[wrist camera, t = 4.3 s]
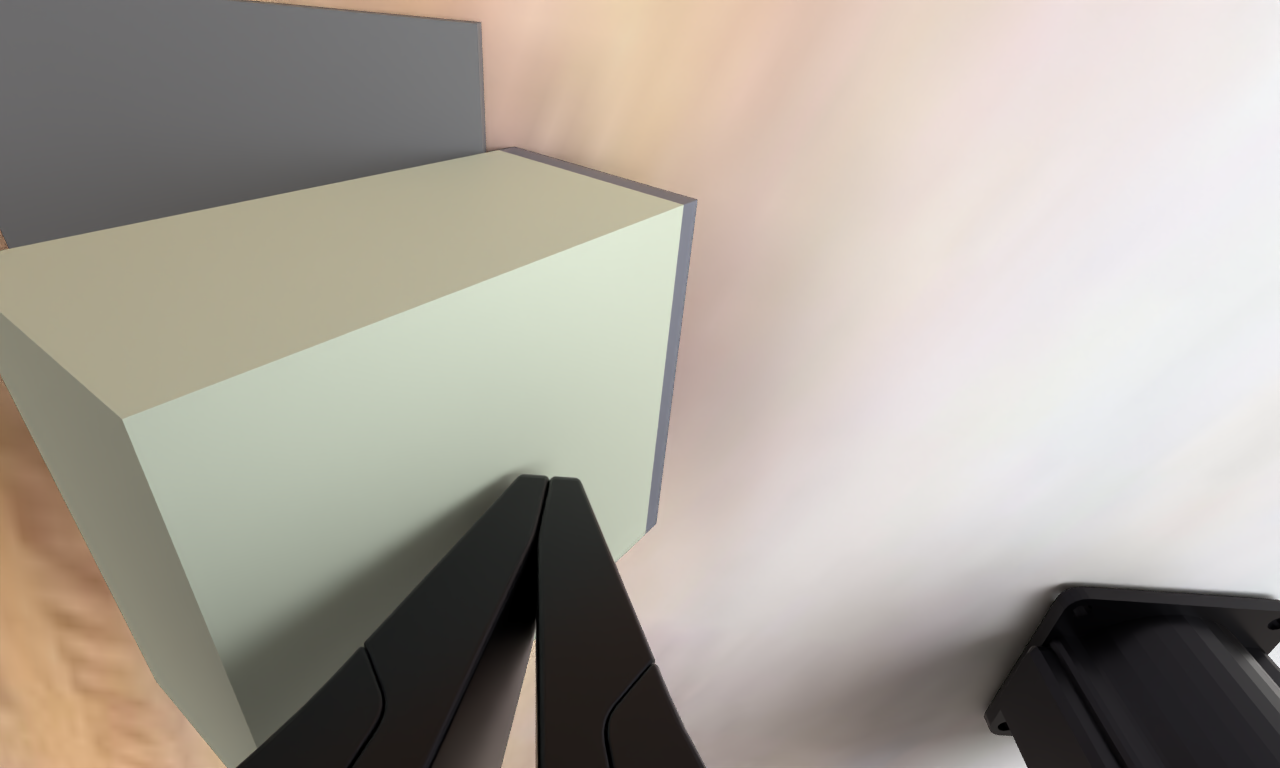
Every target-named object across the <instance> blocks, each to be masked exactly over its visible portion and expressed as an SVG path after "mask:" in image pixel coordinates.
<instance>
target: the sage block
mask: <svg viewBox="0 0 1280 768" xmlns="http://www.w3.org/2000/svg"><path fill="white" fill-rule="evenodd" d="M696 207H697V199H694V198H690V197H687V196H683V195H680V194H676V193H673V192H669V191H666V190H662V189H659V188H655V187H652V186H649V185H645V184H642V183H638V182H635V181H631V180H628V179H624V178H621V177H617V176H614V175H610V174H607V173H604V172H600V171H597V170H593V169H590V168H586V167H583V166H579V165H576V164H572V163H569V162H565V161H562V160H559V159H555V158H552V157H548V156H545V155H541V154H538V153H534V152H531V151H527V150H524V149H520V148H517V147H511V148H506V149H501V150H496V151H491V152H486V153H481V154H477V155H472V156H467V157H462V158H457V159H452V160H447V161H442V162H437V163H432V164H427V165H422V166H417V167H412V168H407V169H402V170H397V171H392V172H387V173H382V174H377V175H372V176H368V177H363V178H358V179H353V180H348V181H343V182H338V183H333V184H328V185H323V186H318V187H313V188H308V189H303V190H298V191H293V192H288V193H283V194H278V195H273V196H268V197H263V198H259V199H254V200H249V201H244V202H239V203H234V204H229V205H224V206H219V207H214V208H209V209H204V210H199V211H194V212H189V213H184V214H179V215H174V216H169V217H164V218H159V219H154V220H150V221H145V222H140V223H135V224H130V225H125V226H120V227H115V228H110V229H105V230H100V231H95V232H90V233H85V234H80V235H75V236H70V237H65V238H60V239H55V240H50V241H45V242H41V243H36V244H31V245H26V246H21V247H16V248H11V249H6V250H1V251H0V375H1V377H2V379H3V381H4V383H5V385H6V387H7V389H8V391H9V393H10V395H11V397H12V399H13V400H14V402H15V404H16V406H17V408H18V410H19V412H20V414H21V416H22V418H23V420H24V422H25V424H26V426H27V428H28V430H29V432H30V434H31V436H32V438H33V440H34V442H35V444H36V446H37V448H38V450H39V452H40V454H41V456H42V458H43V460H44V462H45V463H46V465H47V467H48V469H49V471H50V473H51V475H52V477H53V479H54V481H55V483H56V485H57V487H58V489H59V491H60V493H61V495H62V497H63V499H64V501H65V503H66V505H67V507H68V509H69V511H70V513H71V515H72V517H73V519H74V521H75V523H76V524H77V526H78V528H79V530H80V532H81V534H82V536H83V538H84V540H85V542H86V544H87V546H88V548H89V550H90V552H91V554H92V556H93V558H94V560H95V562H96V564H97V566H98V568H99V570H100V572H101V574H102V576H103V578H104V580H105V582H106V584H107V586H108V587H109V589H110V591H111V593H112V595H113V597H114V599H115V601H116V603H117V605H118V607H119V609H120V611H121V613H122V615H123V617H124V619H125V621H126V623H127V625H128V627H129V629H130V631H131V633H132V635H133V637H134V639H135V641H136V643H137V645H138V647H139V649H140V650H141V652H142V654H143V656H144V658H145V660H146V662H147V664H148V666H149V668H150V670H151V672H152V674H153V676H154V678H155V680H156V682H157V683H158V684H159V685H160V687H161V688H162V689H163V690H164V692H165V693H166V694H167V695H168V696H169V698H170V699H171V700H172V701H173V702H174V704H175V705H176V706H177V707H178V709H179V710H180V711H181V712H182V713H183V715H184V716H185V717H186V718H187V719H188V721H189V722H190V723H191V724H192V726H193V727H194V728H195V729H196V730H197V732H198V733H199V734H200V735H201V737H202V738H203V739H204V740H205V741H206V743H207V744H208V745H209V746H210V747H211V749H212V750H213V751H214V752H215V754H216V755H217V756H218V757H219V758H220V760H221V761H222V762H223V763H224V764H225V766H226V767H227V768H236V767H237V766H238V765H239V764H240V763H241V762H242V761H244V760H245V759H246V758H247V757H248V756H249V755H250V754H251V753H253V752H254V751H255V750H256V749H257V748H258V747H259V746H260V745H262V744H263V743H264V742H265V741H266V740H267V739H268V738H269V737H270V736H271V735H272V734H273V733H274V732H276V731H277V730H278V729H279V728H280V727H281V726H282V725H283V724H284V723H285V722H286V721H287V720H288V719H290V718H291V717H292V716H293V715H294V714H295V713H296V712H297V711H298V710H299V709H300V708H301V707H303V706H304V705H305V704H306V703H307V702H308V700H309V699H310V698H311V697H312V696H313V695H314V694H315V693H316V692H317V691H318V690H319V689H320V688H321V687H322V686H323V685H324V684H325V683H326V682H327V681H328V680H329V679H330V678H331V677H332V676H333V675H334V674H335V673H336V672H337V671H338V670H339V669H340V668H341V667H342V665H343V664H344V663H345V662H346V661H347V660H348V659H349V658H350V657H351V656H352V654H353V653H354V652H355V651H356V650H357V649H358V648H359V647H364V642H365V641H366V640H367V639H368V638H369V637H370V635H371V634H372V633H373V632H374V631H375V630H376V629H377V628H378V627H379V626H380V625H381V624H382V623H383V621H384V620H385V619H386V618H387V617H388V616H389V615H390V614H391V613H392V612H393V611H394V610H395V609H396V607H397V606H398V605H399V604H400V603H401V602H402V601H403V600H404V599H405V598H406V597H407V596H408V594H409V593H410V592H411V591H412V590H413V589H414V588H415V587H416V586H417V585H418V584H419V583H420V582H421V580H422V579H423V578H424V577H425V576H426V575H427V574H428V573H429V572H430V571H431V570H432V569H433V567H434V566H435V565H436V564H437V563H438V562H439V561H440V560H441V559H442V558H443V557H444V556H445V555H446V553H447V552H448V551H449V550H450V549H451V548H452V547H453V546H454V545H455V544H456V543H457V542H458V540H459V539H460V538H461V537H462V536H463V535H464V534H465V533H466V532H467V531H468V530H469V529H470V528H471V526H472V525H473V524H474V523H475V522H476V521H477V520H478V519H479V518H480V517H481V516H482V515H483V513H484V512H485V511H486V510H487V509H488V508H489V507H490V506H491V505H492V504H493V503H494V502H495V501H496V499H497V498H498V497H499V496H500V495H501V494H502V493H503V492H504V491H505V490H506V489H507V488H508V486H509V485H510V484H511V483H512V482H513V481H514V480H515V479H516V478H517V477H518V476H519V475H521V474H533V475H545V476H547V477H548V478H549V480H550V479H551V478H552V477H554V476H561V477H574V478H578V479H580V481H581V482H582V485H583V487H584V489H585V492H586V494H587V497H588V499H589V501H590V504H591V506H592V509H593V511H594V514H595V516H596V518H597V521H598V523H599V526H600V528H601V531H602V533H603V535H604V538H605V540H606V543H607V545H608V547H609V550H610V552H611V555H612V557H613V560H614V562H616V561H618V560H619V559H620V558H621V557H622V556H623V555H624V554H625V553H626V552H627V551H628V550H629V549H630V548H631V547H632V546H633V545H634V544H635V543H636V542H637V541H639V540H640V539H641V538H642V537H643V536H644V535H645V534H646V533H647V532H648V531H649V530H650V529H651V528H652V527H653V526H654V525H655V524H656V521H657V513H658V505H659V497H660V490H661V482H662V474H663V466H664V458H665V450H666V443H667V435H668V427H669V419H670V411H671V403H672V396H673V388H674V380H675V372H676V364H677V356H678V348H679V341H680V333H681V325H682V317H683V309H684V301H685V294H686V286H687V278H688V270H689V262H690V254H691V247H692V239H693V231H694V223H695V215H696ZM535 639H536V629H535V635H534V639H533V641H534V640H535Z"/></svg>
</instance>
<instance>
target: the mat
mask: <svg viewBox="0 0 1280 768" xmlns="http://www.w3.org/2000/svg"><path fill="white" fill-rule="evenodd" d="M481 153H486V134H485V108H484V83H483V57H482V32H481V22H472V21H461V20H451V19H440V18H430V17H419V16H408V15H398V14H387V13H376V12H366V11H355V10H344V9H334V8H323V7H312V6H302V5H291V4H281V3H270V2H259V1H249V0H0V230H1V232H2V234H3V236H4V239H5V241H6V243H7V245H8V248H9V249H11V248H16V247H21V246H26V245H31V244H36V243H41V242H45V241H50V240H55V239H60V238H65V237H70V236H75V235H80V234H85V233H90V232H95V231H100V230H105V229H110V228H115V227H120V226H125V225H130V224H135V223H140V222H145V221H150V220H154V219H159V218H164V217H169V216H174V215H179V214H184V213H189V212H194V211H199V210H204V209H209V208H214V207H219V206H224V205H229V204H234V203H239V202H244V201H249V200H254V199H259V198H263V197H268V196H273V195H278V194H283V193H288V192H293V191H298V190H303V189H308V188H313V187H318V186H323V185H328V184H333V183H338V182H343V181H348V180H353V179H358V178H363V177H368V176H372V175H377V174H382V173H387V172H392V171H397V170H402V169H407V168H412V167H417V166H422V165H427V164H432V163H437V162H442V161H447V160H452V159H457V158H462V157H467V156H472V155H477V154H481Z"/></svg>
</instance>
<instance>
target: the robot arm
mask: <svg viewBox="0 0 1280 768" xmlns="http://www.w3.org/2000/svg"><path fill="white" fill-rule="evenodd" d="M535 629H536V768H706V766H705V764H704V763H703V761H702V759H701V757H700V755H699V753H698V751H697V750H696V748H695V746H694V744H693V742H692V740H691V738H690V736H689V735H688V733H687V731H686V729H685V727H684V725H683V722H682V720H681V718H680V716H679V714H678V712H677V709H676V707H675V705H674V703H673V701H672V698H671V696H670V694H669V692H668V689H667V687H666V685H665V682H664V680H663V677H662V675H661V673H660V670H659V668H658V666H657V665H656V664H655V659H654V656H653V654H652V652H651V649H650V647H649V644H648V642H647V639H646V637H645V635H644V632H643V630H642V627H641V625H640V623H639V620H638V618H637V615H636V613H635V610H634V608H633V606H632V603H631V601H630V598H629V596H628V593H627V591H626V589H625V586H624V584H623V581H622V579H621V577H620V574H619V572H618V569H617V567H616V564H615V562H614V560H613V557H612V555H611V552H610V550H609V547H608V545H607V543H606V540H605V538H604V535H603V533H602V531H601V528H600V526H599V523H598V521H597V518H596V516H595V514H594V511H593V509H592V506H591V504H590V501H589V499H588V497H587V494H586V492H585V489H584V487H583V485H582V482H581V481H580V479H578V478H574V477H561V476H554V477H552V478H551V479H550V480H549V478H548V477H547V476H545V475H533V474H521V475H519V476H518V477H517V478H516V479H515V480H514V481H513V482H512V483H511V484H510V485H509V486H508V488H507V489H506V490H505V491H504V492H503V493H502V494H501V495H500V496H499V497H498V498H497V499H496V501H495V502H494V503H493V504H492V505H491V506H490V507H489V508H488V509H487V510H486V511H485V512H484V513H483V515H482V516H481V517H480V518H479V519H478V520H477V521H476V522H475V523H474V524H473V525H472V526H471V528H470V529H469V530H468V531H467V532H466V533H465V534H464V535H463V536H462V537H461V538H460V539H459V540H458V542H457V543H456V544H455V545H454V546H453V547H452V548H451V549H450V550H449V551H448V552H447V553H446V555H445V556H444V557H443V558H442V559H441V560H440V561H439V562H438V563H437V564H436V565H435V566H434V567H433V569H432V570H431V571H430V572H429V573H428V574H427V575H426V576H425V577H424V578H423V579H422V580H421V582H420V583H419V584H418V585H417V586H416V587H415V588H414V589H413V590H412V591H411V592H410V593H409V594H408V596H407V597H406V598H405V599H404V600H403V601H402V602H401V603H400V604H399V605H398V606H397V607H396V609H395V610H394V611H393V612H392V613H391V614H390V615H389V616H388V617H387V618H386V619H385V620H384V621H383V623H382V624H381V625H380V626H379V627H378V628H377V629H376V630H375V631H374V632H373V633H372V634H371V635H370V637H369V638H368V639H367V640H366V641H365V642H364V647H359V648H358V649H357V650H356V651H355V652H354V653H353V654H352V656H351V657H350V658H349V659H348V660H347V661H346V662H345V663H344V664H343V665H342V667H341V668H340V669H339V670H338V671H337V672H336V673H335V674H334V675H333V676H332V677H331V678H330V679H329V680H328V681H327V682H326V683H325V684H324V685H323V686H322V687H321V688H320V689H319V690H318V691H317V692H316V693H315V694H314V695H313V696H312V697H311V698H310V699H309V700H308V702H307V703H306V704H305V705H304V706H303V707H301V708H300V709H299V710H298V711H297V712H296V713H295V714H294V715H293V716H292V717H291V718H290V719H288V720H287V721H286V722H285V723H284V724H283V725H282V726H281V727H280V728H279V729H278V730H277V731H276V732H274V733H273V734H272V735H271V736H270V737H269V738H268V739H267V740H266V741H265V742H264V743H263V744H262V745H260V746H259V747H258V748H257V749H256V750H255V751H254V752H253V753H251V754H250V755H249V756H248V757H247V758H246V759H245V760H244V761H242V762H241V763H240V764H239V765H238V766H237V767H236V768H501V766H502V762H503V758H504V754H505V750H506V746H507V742H508V738H509V734H510V731H511V727H512V723H513V719H514V715H515V711H516V707H517V703H518V699H519V695H520V691H521V688H522V684H523V680H524V676H525V672H526V668H527V664H528V660H529V656H530V652H531V648H532V644H533V639H534V635H535ZM1279 642H1280V600H1272V599H1257V598H1242V597H1227V596H1212V595H1197V594H1182V593H1167V592H1152V591H1137V590H1122V589H1107V588H1092V587H1074V588H1071V589H1068V590H1066V591H1064V592H1062V593H1061V594H1060V595H1059V596H1058V597H1057V598H1056V600H1055V601H1054V603H1053V605H1052V606H1051V608H1050V610H1049V611H1048V613H1047V614H1046V616H1045V618H1044V619H1043V621H1042V622H1041V624H1040V626H1039V627H1038V629H1037V630H1036V632H1035V634H1034V635H1033V637H1032V639H1031V640H1030V642H1029V643H1028V645H1027V647H1026V648H1025V650H1024V651H1023V653H1022V655H1021V656H1020V658H1019V659H1018V661H1017V663H1016V664H1015V666H1014V667H1013V669H1012V671H1011V672H1010V674H1009V676H1008V677H1007V679H1006V680H1005V682H1004V684H1003V685H1002V687H1001V688H1000V690H999V692H998V693H997V695H996V696H995V698H994V700H993V701H992V703H991V705H990V706H989V708H988V709H987V711H986V713H985V715H984V718H985V720H986V722H987V724H988V727H989V729H990V731H991V732H992V733H994V734H997V735H1006V736H1013V737H1014V740H1015V742H1016V744H1017V746H1018V748H1019V750H1020V752H1021V755H1022V757H1023V759H1024V761H1025V763H1026V765H1027V767H1028V768H1280V668H1279V667H1278V666H1277V665H1276V664H1275V663H1274V662H1273V660H1272V659H1271V658H1270V657H1269V656H1268V654H1269V653H1270V652H1271V651H1272V650H1273V649H1274V648H1275V646H1276V645H1277V644H1278V643H1279Z"/></svg>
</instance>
